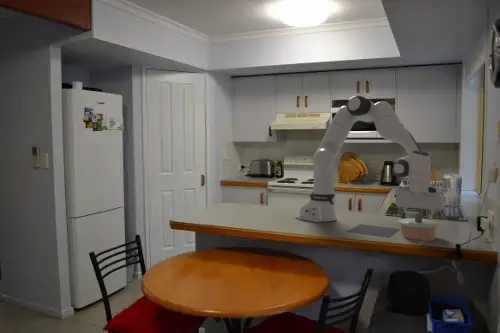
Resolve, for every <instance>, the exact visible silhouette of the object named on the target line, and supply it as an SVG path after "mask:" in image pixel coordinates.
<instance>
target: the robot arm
mask: <svg viewBox="0 0 500 333" xmlns="http://www.w3.org/2000/svg"><path fill="white" fill-rule="evenodd" d="M397 115H398V114H396V112H395V110H394V109H393V107H392V105H391V104H390V103H389V102H388V101H385V100H382V101H377V102H376V103H375V102H373V101H372V100H370V99H368V98H366V97H365V96H362V95H353V96H352V97H350V98H349V99H348V101H347V102H346V105H342V106H341V107H340V108H339V109H338V110H337V112H336V113H335V115H334V117H333V118H332V120H331V121H330V123H329V125H328V127H327V129H326V131H325V133H324V135H323V137H322V140H321V141H320V143H319V145H318V148H317V150H316V151H314V152H315V153H314V154H313V157H312V158H313V159H312V162H313V163H312V165H313V166H312V167H313V168H312V169H313V172H312V173H313V193H310V194H309V196H308V197H309V198H310V199H309V200H308V201H307V202H305V203H304V204H302V205H301V206H300V209H299V214H296V215H295V219H298V220H299V219H300V220H304V221H309V222H315V223H321V222H332V221H334V222H335V221H336V220H338V219H337V215H336V209H335V208H336V207H335V203H336V196H335V195H336V194H335V160H336V158H337V156H338V155H339V152H340V151H341V149H342V147H343V145H344V143H345V141H346V139H347V138H348V136H349V134H350V131H351V129H352V127H353V126H354V125H355V123H356V122H358V123H360V124H361V123H362V124H373V125H374V126H375V128H376V130H377V131H376V132H377V133H378V135H379V136H380V137H381V138H383V139H385V140H387V141H391V142H394V143H397V144H398V145H401V146H402V148H404V150H405V151H406V153H407V155H406V156H402V157H400V158H397V159H396V160H395V161H394V162H393V165H392V170H393V174H394V176H395V177H397V178H399V179H408V186H402V185H401V186H398V187H396V188H395V201H394V205H395V206H396V207H399V208H402V209H403V211H404V212H405V213H406V217H410V213H408V212H409V211H408V210H407V209H408V208H412V209H422V210H430V212H431V213H430V214H428V215H427V220H432V221H433V215H434V213H435V212H436V211H442V210H443V209H444V208H445V201H444V200H445V199H444V196H443V194H442V193H441V192H442V187H441V186H437V185H435V184H432V183H431V177H430V176H431V172H432V167H433V166H432V163H431V162H432V161H431V156H430V154H429V152H426V151H422V149H421V148H420V146H419V145H418V143H417V141H416V139H415V138H414V136H413V134H412V133H410V131H409V130H407V128H405V127H404V125H403V124H402V123H401V122H400V120H399V118H398V116H397ZM407 211H408V212H407Z"/></svg>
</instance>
